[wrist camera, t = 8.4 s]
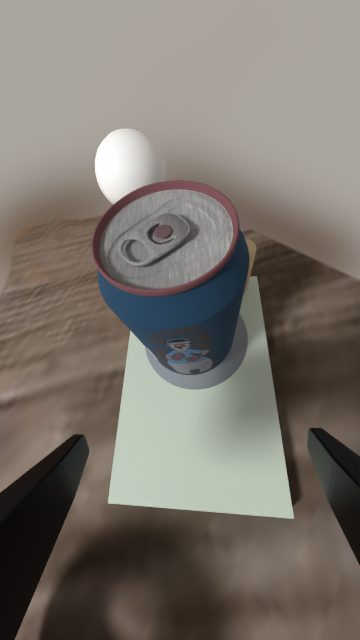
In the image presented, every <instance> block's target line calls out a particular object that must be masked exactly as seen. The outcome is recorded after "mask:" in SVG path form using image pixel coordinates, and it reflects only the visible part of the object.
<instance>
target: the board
mask: <svg viewBox="0 0 360 640" xmlns="http://www.w3.org/2000/svg"><path fill="white" fill-rule="evenodd" d="M245 240H246V243H247V246H248V250H249V257H250V263H249V270H248V275H247V280H246V284H245V289H244V294H243V298H242V303H241V308H240V312H239V317H238V322H237V326H236V331H235V336H234V340H233V344H232V347H231V350H230V352H229V354H228V355H227V357H226V358H225V359H224V360H223V361H222V362H221V363H220V364H219V365H218V366H217V367H215V368H214V369H212V370H210V371H208V372H205V373H202V374H198V375H183V374H178V373H175V372H173V371H170V370H169V369H167V368H165V367H164V366H163V365H162V364H161V363H160V362H159V361H158V360H157V359H156V358H155V357H154V356H153V355H152V354H151V353H150V351H149V350H148V349H147V348H146V347H145V346H144V345H143V344H142V343H141V342H140V340H139V339H138V338H137V337H136V336H135V335H134V334H133V333H132V332H131V331H130V338H129V346H128V353H127V361H126V369H125V376H124V384H123V391H122V399H121V407H120V414H119V422H118V430H117V437H116V445H115V453H114V460H113V468H112V475H111V483H110V491H109V498H108V503H112V504H124V505H136V506H148V507H160V508H172V509H184V510H195V511H207V512H219V513H231V514H243V515H255V516H267V517H279V518H291V519H294V516H293V509H292V503H291V496H290V489H289V483H288V476H287V470H286V463H285V457H284V450H283V444H282V437H281V431H280V424H279V417H278V411H277V404H276V398H275V391H274V385H273V378H272V372H271V365H270V359H269V352H268V345H267V339H266V332H265V326H264V319H263V313H262V306H261V300H260V293H259V287H258V280H257V276H252V277H250V274H251V270H252V266H253V262H254V258H255V254H256V245H255V243H254V242H253V241H251V240H249V239H245Z"/></svg>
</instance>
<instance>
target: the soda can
mask: <svg viewBox="0 0 360 640" xmlns="http://www.w3.org/2000/svg"><path fill="white" fill-rule="evenodd" d="M91 248H92V256H93V260H94V262H95V265H96V267H97V268H98V283H99V288H100V291H101V294H102V296H103V298H104V300H105V302H106V303H107V305H108V306H109V307H110V308H111V310H112V311H113V312H114V313H115V314H116V315H117V316H118V317H119V318H120V319H121V321H122V322H123V323H124V324H125V325H126V326H127V327H128V328H129V329H130V331H131V332H132V333H133V334H134V335H135V336H136V337H137V338H138V339H139V340H140V342H141V343H142V344H143V345H144V346H145V347H146V348H147V349H148V350H149V351H150V353H151V354H152V355H153V356H154V357H155V358H156V359H157V360H158V361H159V362H160V363H161V364H162V365H163V366H164V367H165V368H167V369H169V370H170V371H173V372H175V373H178V374H183V375H198V374H202V373H205V372H208V371H210V370H212V369H214V368H215V367H217V366H218V365H219V364H220V363H221V362H222V361H223V360H224V359H225V358H226V357H227V355H228V354H229V352H230V350H231V347H232V344H233V340H234V336H235V331H236V326H237V322H238V317H239V312H240V308H241V303H242V298H243V294H244V289H245V284H246V280H247V275H248V270H249V263H250V257H249V250H248V246H247V243H246V240H245V238H244V236H243V234H242V232H241V230H240V229H239V219H238V215H237V212H236V210H235V208H234V206H233V205H232V203H231V202H230V201H229V199H228V198H227V197H226V196H224V195H223V194H222V193H221V192H219V191H218V190H216V189H214V188H212V187H209V186H207V185H204V184H201V183H197V182H192V181H179V180H178V181H164V182H158V183H153V184H149V185H146V186H143V187H140V188H138V189H136V190H134V191H132V192H131V193H129V194H127V195H126V196H124V197H122V198H121V199H120V200H118V201H117V202H116V203H115V204H113V205H112V206H111V207H110V208H109V209H108V210H107V211H106V212H105V214H104V215H103V216H102V218H101V219H100V221H99V222H98V224H97V226H96V228H95V231H94V234H93V237H92V245H91Z"/></svg>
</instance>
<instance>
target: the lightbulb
mask: <svg viewBox="0 0 360 640" xmlns="http://www.w3.org/2000/svg"><path fill="white" fill-rule="evenodd" d="M95 172H96V177H97V181H98V184H99V186H100V188H101V190H102V192H103V193H104V195H105V196H106V197H107V199H108V200H109V201H110V202H111V203H112V204H115V203H116V202H117V201H118V200H120V199H121V198H122V197H124V196H126V195H127V194H129V193H131V192H132V191H134V190H136V189H138V188H140V187H143V186H146V185H149V184H153V183H158V182H164V181H166V168H165V163H164V159H163V157H162V154H161V152H160V150H159V149H158V147H157V146H156V144H155V143H154V142H153V141H152V140H151V139H150V138H149V137H148V136H146V135H145V134H143V133H142V132H139V131H137V130H134V129H126V128H124V129H118V130H115V131H113V132H111V133H110V134H109V135H108V136H106V137H105V139H104V140H103V141H102V143H101V144H100V146H99V148H98V150H97V154H96V159H95Z"/></svg>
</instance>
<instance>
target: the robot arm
mask: <svg viewBox="0 0 360 640" xmlns="http://www.w3.org/2000/svg"><path fill="white" fill-rule="evenodd" d="M307 447H308V451H309V454H310V457H311V459H312V462H313V464H314V467H315V469H316V472H317V475H318V477H319V480H320V482H321V485H322V488H323V490H324V493H325V495H326V498H327V500H328V502H329V504H330V506H331V508H332V510H333V512H334V514H335V516H336V518H337V520H338V522H339V524H340V526H341V528H342V530H343V532H344V535H345V537H346V539H347V541H348V543H349V545H350V547H351V549H352V551H353V553H354V555H355V557H356V559H357V561H358V563H359V565H360V456H358V455H357V454H356V453H354V452H353V451H352V450H350V449H349V448H348V447H346V446H345V445H344V444H342V443H341V442H340V441H338V440H337V439H336V438H334V437H333V436H331V435H330V434H329V433H327V432H326V431H325V430H323V429H322V428H310V429H309V431H308V441H307ZM88 455H89V447H88V444H87V441H86V438H85V436H84V435H83V434H75V435H73V436H71V437H70V438H69V439H68V440H66V441H65V442H64V443H63V444H61V445H60V446H59V447H58V448H56V449H55V450H54V451H52V452H51V453H50V454H49V455H47V456H46V457H45V458H44V459H42V460H41V461H40V462H39V463H37V464H36V465H35V466H34V467H32V468H31V469H30V470H28V471H27V472H26V473H25V474H23V475H22V476H21V477H20V478H18V479H17V480H16V481H15V482H13V483H12V484H11V485H9V486H8V487H7V488H6V489H4V490H3V491H2V492H1V493H0V640H15V637H16V635H17V633H18V630H19V628H20V625H21V623H22V621H23V618H24V616H25V614H26V611H27V609H28V606H29V604H30V602H31V599H32V597H33V595H34V592H35V590H36V588H37V585H38V583H39V580H40V578H41V576H42V573H43V571H44V569H45V566H46V564H47V562H48V559H49V557H50V554H51V552H52V550H53V547H54V545H55V543H56V540H57V538H58V536H59V533H60V531H61V528H62V526H63V524H64V521H65V519H66V517H67V514H68V512H69V509H70V507H71V505H72V502H73V500H74V497H75V495H76V492H77V489H78V486H79V483H80V480H81V477H82V474H83V471H84V468H85V465H86V462H87V459H88Z"/></svg>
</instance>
